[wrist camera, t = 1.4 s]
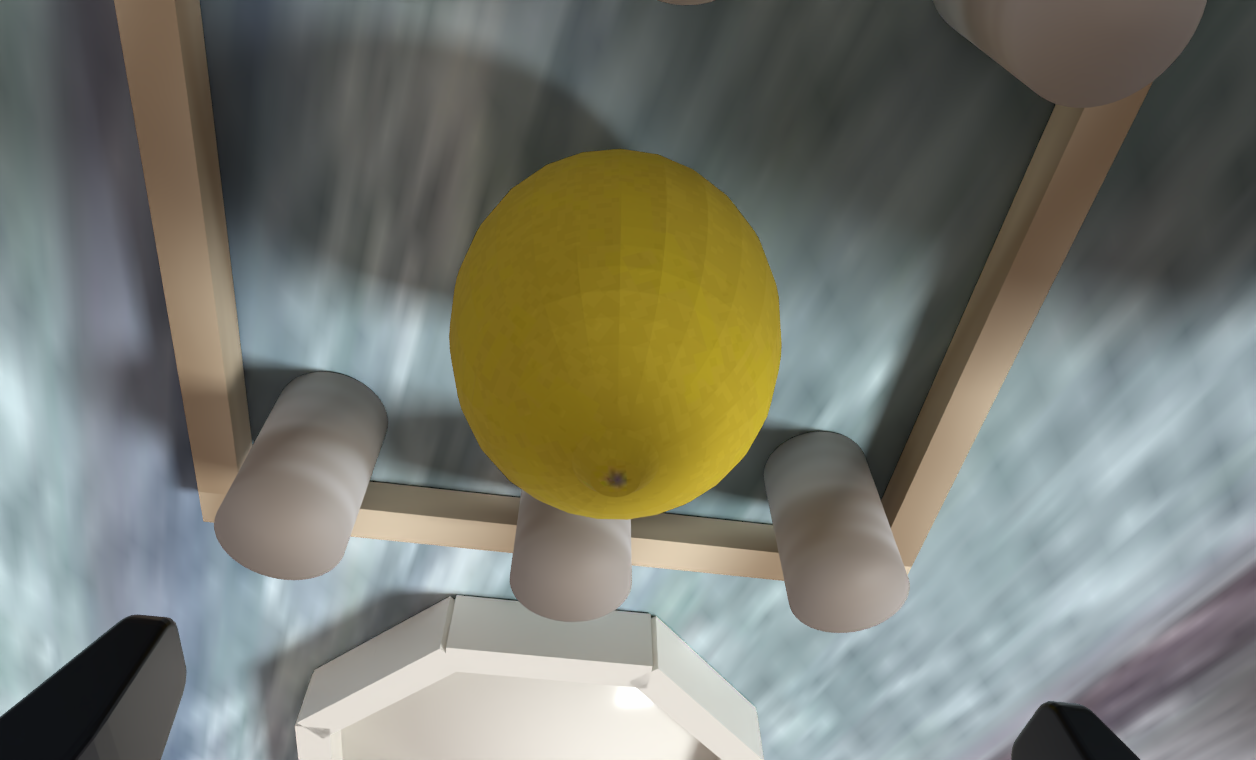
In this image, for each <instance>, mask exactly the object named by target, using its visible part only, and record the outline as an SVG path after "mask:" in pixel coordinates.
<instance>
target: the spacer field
mask: <svg viewBox="0 0 1256 760" xmlns="http://www.w3.org/2000/svg"><path fill="white" fill-rule="evenodd" d="M658 1H661V2H665V3H669V4H676V5H698V4H703V3H709V2H712V1H715V0H658ZM933 2H934V5H935V7H936V9H937V11H938V12H939V14H940V16H941V17H942V18H943V19H944V20H945V22H946V23H947V24H949V25H950V26H951V27H952V28H953V29H955V30H956V31H957V32H958V33H960V34H961V35H962V36H964V37H965V38H966V39H967V40H969V41H970V42H971V43H973V44H974V45H975V46H976V47H978V48H979V49H980V50H982V51H983V52H984V53H985V54H987V55H988V56H989V57H990V58H992V59H993V60H994V61H996V62H997V63H998V64H999V65H1001V66H1002V67H1003V68H1005V69H1006V70H1007V71H1008V72H1010V73H1011V74H1012V75H1014V76H1015V77H1016V78H1017V79H1019V80H1020V81H1021V82H1023V83H1024V84H1025V85H1026V86H1028V87H1029V88H1030V89H1031V90H1033V91H1034V92H1035V93H1037V94H1038V95H1039V96H1041V97H1043V98H1044V99H1046V100H1047V101H1050V102H1052V103H1055V104H1056V105H1055V107H1054V109H1053V112H1052V114H1051V116H1050V119H1049V121H1048V123H1047V125H1046V128H1045V130H1044V132H1043V134H1042V137H1041V139H1040V141H1039V143H1038V146H1037V148H1036V150H1035V153H1034V155H1033V157H1032V159H1031V162H1030V164H1029V166H1028V168H1027V171H1026V173H1025V175H1024V177H1023V180H1022V182H1021V184H1020V187H1019V189H1018V191H1017V193H1016V196H1015V198H1014V200H1013V202H1012V205H1011V207H1010V209H1009V212H1008V214H1007V216H1006V218H1005V221H1004V223H1003V225H1002V227H1001V230H1000V232H999V234H998V236H997V239H996V241H995V243H994V246H993V248H992V250H991V252H990V255H989V257H988V259H987V261H986V264H985V266H984V268H983V271H982V273H981V275H980V277H979V280H978V282H977V284H976V286H975V289H974V291H973V293H972V295H971V298H970V300H969V302H968V305H967V307H966V309H965V311H964V314H963V316H962V318H961V320H960V323H959V325H958V327H957V330H956V332H955V334H954V336H953V339H952V341H951V343H950V345H949V348H948V350H947V352H946V354H945V357H944V359H943V361H942V364H941V366H940V368H939V370H938V373H937V375H936V377H935V379H934V382H933V384H932V386H931V389H930V391H929V393H928V395H927V398H926V400H925V402H924V404H923V407H922V409H921V411H920V413H919V416H918V418H917V420H916V423H915V425H914V427H913V429H912V432H911V434H910V436H909V438H908V441H907V443H906V445H905V447H904V450H903V452H902V454H901V457H900V459H899V461H898V463H897V466H896V468H895V470H894V472H893V475H892V477H891V479H890V482H889V484H888V486H887V488H886V491H885V493H884V495H883V497H882V500H880V497H879V494H878V492H877V489H876V486H875V483H874V480H873V478H872V475H871V472H870V469H869V466H868V464H867V461H866V458H865V456H864V453H863V451H862V450H861V448H860V447H859V446H858V445H857V444H856V443H855V442H854V441H853V440H851V439H849V438H848V437H845V436H843V435H840V434H837V433H832V432H811V433H806V434H802V435H799V436H796V437H794V438H792V439H789V440H788V441H786V442H784V443H783V444H782V445H780V446H779V447H778V448H777V449H776V450H775V451H774V452H773V453H772V454H771V455H770V457H769V459H768V460H767V462H766V465H765V468H764V483H765V488H766V493H767V498H768V503H769V508H770V513H771V517H772V522H773V525H767V524H757V523H748V522H739V521H730V520H720V519H711V518H702V517H693V516H684V515H674V514H665V513H660V514H657V515H652V516H646V517H640V518H634V519H628V520H622V519H595V518H590V517H585V516H580V515H575V514H570V513H567V512H565V511H562V510H560V509H558V508H555V507H553V506H551V505H548V504H546V503H543V502H541V501H539V500H537V499H535V498H534V497H532V496H531V495H529V494H528V493H526V492H525V491H524V490H521V497H520V498H517V497H508V496H499V495H490V494H481V493H471V492H462V491H453V490H444V489H434V488H425V487H416V486H407V485H398V484H388V483H379V482H370V478H371V475H372V472H373V469H374V467H375V464H376V461H377V458H378V455H379V452H380V449H381V447H382V444H383V441H384V438H385V435H386V432H387V428H388V417H387V413H386V410H385V407H384V405H383V404H382V402H381V400H380V399H379V398H378V396H377V395H376V394H375V393H374V392H373V391H372V390H371V389H369V388H368V387H367V386H366V385H364V384H362V383H361V382H359V381H357V380H355V379H353V378H351V377H348V376H345V375H342V374H338V373H332V372H314V373H308V374H305V375H302V376H299V377H297V378H295V379H294V380H292V381H291V382H290V383H288V384H287V385H286V387H285V388H284V389H283V391H282V392H281V394H280V396H279V398H278V400H277V401H276V403H275V405H274V407H273V409H272V411H271V413H270V414H269V416H268V418H267V420H266V422H265V424H264V426H263V427H262V429H261V431H260V433H259V435H258V437H257V439H256V440H255V442H254V444H253V446H252V437H251V429H250V421H249V412H248V404H247V395H246V387H245V379H244V370H243V362H242V353H241V345H240V337H239V328H238V320H237V311H236V303H235V294H234V286H233V278H232V269H231V261H230V252H229V244H228V236H227V227H226V219H225V210H224V202H223V194H222V185H221V177H220V168H219V160H218V152H217V143H216V135H215V126H214V118H213V110H212V101H211V93H210V84H209V76H208V68H207V59H206V51H205V42H204V34H203V26H202V17H201V9H200V0H114V4H115V10H116V16H117V21H118V27H119V33H120V39H121V45H122V50H123V56H124V62H125V68H126V74H127V79H128V85H129V91H130V97H131V103H132V109H133V114H134V120H135V126H136V132H137V138H138V143H139V149H140V155H141V161H142V167H143V172H144V178H145V184H146V190H147V196H148V201H149V207H150V213H151V219H152V225H153V231H154V236H155V242H156V248H157V254H158V260H159V265H160V271H161V277H162V283H163V289H164V294H165V300H166V306H167V312H168V318H169V324H170V329H171V335H172V341H173V347H174V353H175V358H176V364H177V370H178V376H179V382H180V387H181V393H182V399H183V405H184V411H185V416H186V422H187V428H188V434H189V440H190V446H191V451H192V457H193V463H194V469H195V475H196V480H197V486H198V492H199V498H200V504H201V509H202V515H203V521H204V522H214V530H215V534H216V537H217V539H218V541H219V543H220V545H221V546H222V548H223V549H224V550H225V551H226V552H227V554H229V555H230V556H231V557H232V558H233V559H234V560H235V561H237V562H238V563H239V564H241V565H243V566H244V567H246V568H248V569H250V570H252V571H254V572H257V573H259V574H262V575H265V576H268V577H273V578H277V579H284V580H303V579H310V578H314V577H318V576H320V575H323V574H325V573H327V572H329V571H330V570H332V569H333V568H334V567H335V566H336V565H337V564H338V563H339V562H340V561H341V559H342V557H343V555H344V553H345V550H346V547H347V544H348V541H349V538H350V536H351V537H361V538H371V539H380V540H390V541H400V542H410V543H419V544H429V545H439V546H449V547H459V548H468V549H478V550H488V551H498V552H508V553H513V557H512V565H511V572H510V585H511V589H512V591H513V593H514V595H515V597H516V598H517V600H518V601H519V602H520V603H521V604H522V605H523V606H524V607H526V608H527V609H528V610H530V611H532V612H533V613H535V614H537V615H540V616H542V617H545V618H548V619H552V620H556V621H563V622H582V621H589V620H593V619H597V618H600V617H603V616H605V615H607V614H609V613H611V612H613V611H614V610H616V609H617V608H618V607H619V606H620V605H621V604H623V602H624V601H625V600H626V599H627V597H628V595H629V593H630V590H631V585H632V565H635V566H645V567H654V568H664V569H674V570H684V571H694V572H703V573H713V574H723V575H733V576H743V577H752V578H762V579H772V580H782V581H785V586H786V591H787V596H788V601H789V605H790V608H791V610H792V612H793V614H794V615H795V616H796V618H798V619H799V620H800V621H801V622H802V623H804V624H805V625H807V626H809V627H811V628H814V629H817V630H821V631H825V632H832V633H847V632H855V631H860V630H864V629H867V628H870V627H873V626H876V625H878V624H880V623H882V622H884V621H885V620H887V619H889V618H890V617H891V616H893V615H894V614H895V613H896V612H897V611H898V610H899V609H900V608H901V607H902V606H903V604H904V603H905V601H906V599H907V597H908V594H909V589H910V583H909V578H908V576H907V575H908V573H909V571H910V569H911V567H912V565H913V563H914V561H915V559H916V557H917V555H918V553H919V551H920V549H921V547H922V545H923V543H924V541H925V539H926V537H927V535H928V533H929V531H930V529H931V527H932V525H933V523H934V521H935V519H936V517H937V515H938V513H939V511H940V509H941V507H942V505H943V503H944V501H945V499H946V497H947V495H948V493H949V491H950V489H951V487H952V485H953V483H954V480H955V478H956V476H957V474H958V472H959V470H960V468H961V466H962V464H963V462H964V460H965V458H966V456H967V454H968V452H969V450H970V448H971V446H972V444H973V442H974V440H975V438H976V436H977V434H978V432H979V430H980V428H981V426H982V424H983V422H984V420H985V418H986V416H987V414H988V412H989V410H990V408H991V406H992V404H993V402H994V400H995V398H996V396H997V394H998V392H999V390H1000V388H1001V386H1002V384H1003V382H1004V380H1005V378H1006V376H1007V374H1008V372H1009V370H1010V368H1011V366H1012V364H1013V362H1014V360H1015V358H1016V356H1017V354H1018V352H1019V350H1020V348H1021V346H1022V344H1023V342H1024V340H1025V338H1026V336H1027V334H1028V332H1029V330H1030V328H1031V326H1032V324H1033V322H1034V320H1035V318H1036V316H1037V314H1038V312H1039V310H1040V308H1041V306H1042V304H1043V302H1044V300H1045V298H1046V296H1047V294H1048V292H1049V290H1050V288H1051V286H1052V284H1053V282H1054V280H1055V278H1056V276H1057V274H1058V272H1059V270H1060V268H1061V266H1062V264H1063V262H1064V260H1065V258H1066V255H1067V253H1068V251H1069V249H1070V247H1071V245H1072V243H1073V241H1074V239H1075V237H1076V235H1077V233H1078V231H1079V229H1080V227H1081V225H1082V223H1083V221H1084V219H1085V217H1086V215H1087V213H1088V211H1089V209H1090V207H1091V205H1092V203H1093V201H1094V199H1095V197H1096V195H1097V193H1098V191H1099V189H1100V187H1101V185H1102V183H1103V181H1104V179H1105V177H1106V175H1107V173H1108V171H1109V169H1110V167H1111V165H1112V163H1113V161H1114V159H1115V157H1116V155H1117V153H1118V151H1119V149H1120V147H1121V145H1122V143H1123V141H1124V139H1125V137H1126V135H1127V133H1128V131H1129V129H1130V127H1131V125H1132V123H1133V121H1134V119H1135V117H1136V115H1137V113H1138V111H1139V109H1140V107H1141V105H1142V103H1143V101H1144V99H1145V97H1146V95H1147V93H1148V91H1149V89H1150V87H1151V85H1152V83H1153V81H1154V80H1155V79H1156V78H1157V77H1159V76H1160V75H1161V74H1162V73H1163V72H1164V71H1165V70H1166V69H1167V68H1168V67H1169V66H1170V65H1171V64H1172V63H1173V62H1174V61H1175V60H1176V59H1177V57H1178V56H1179V55H1180V54H1181V53H1182V51H1183V50H1184V48H1185V47H1186V46H1187V44H1188V43H1189V41H1190V40H1191V38H1192V36H1193V34H1194V33H1195V31H1196V29H1197V27H1198V25H1199V22H1200V20H1201V18H1202V15H1203V12H1204V9H1205V6H1206V3H1207V0H933Z"/></svg>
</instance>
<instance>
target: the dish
mask: <svg viewBox="0 0 1256 760" xmlns="http://www.w3.org/2000/svg"><path fill="white" fill-rule="evenodd" d="M295 732H296V742H297V751H298V760H764V757H763V750H762V743H761V736H760V729H759V723H758V716H757V712H756V708H755V707H754V706H753V705H752V704H751V703H750V702H749V701H748V700H747V699H745V698H744V697H743V696H742V695H741V694H740V693H739V692H738V691H737V690H736V689H735V688H734V687H732V686H731V685H730V684H729V683H728V682H727V681H726V680H725V679H724V678H723V677H722V676H721V675H719V674H718V673H717V672H716V671H715V670H714V669H713V668H712V667H711V666H710V665H709V664H707V663H706V662H705V661H704V660H703V659H702V658H701V657H700V656H699V655H698V654H697V653H696V652H694V651H693V650H692V649H691V648H690V647H689V646H688V645H687V644H686V643H685V642H684V641H683V640H681V639H680V638H679V637H678V636H677V635H676V634H675V633H674V632H673V631H672V630H671V629H670V628H668V627H667V626H666V625H665V624H664V623H663V622H662V621H661V620H660V619H659V618H658V617H657V616H655V617H653V618H651V614H647V613H636V612H626V611H616V610H614V611H613V612H611V613H609V614H607V615H605V616H603V617H600V618H597V619H593V620H589V621H582V622H563V621H556V620H552V619H548V618H545V617H542V616H540V615H537V614H535V613H533V612H532V611H530V610H528V609H527V608H526V607H524V606H523V605H522V604H521V603H520V602H519V601H512V600H502V599H492V598H481V597H471V596H461V595H456V599H453V598H452V597H451V596H450V597H448V598H446V599H444V600H442V601H440V602H439V603H437V604H435V605H433V606H431V607H429V608H428V609H426V610H424V611H422V612H420V613H418V614H416V615H415V616H413V617H411V618H409V619H407V620H405V621H404V622H402V623H400V624H398V625H396V626H394V627H393V628H391V629H389V630H387V631H385V632H383V633H381V634H380V635H378V636H376V637H374V638H372V639H370V640H369V641H367V642H365V643H363V644H361V645H359V646H358V647H356V648H354V649H352V650H350V651H348V652H347V653H345V654H343V655H341V656H339V657H337V658H335V659H334V660H332V661H330V662H328V663H326V664H324V665H323V666H321V667H319V668H317V669H315V670H314V673H312V676H311V679H310V682H309V685H308V688H307V691H306V694H305V697H304V700H303V703H302V706H301V709H300V712H299V715H298V718H297V721H296V724H295Z"/></svg>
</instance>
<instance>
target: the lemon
mask: <svg viewBox="0 0 1256 760" xmlns="http://www.w3.org/2000/svg"><path fill="white" fill-rule="evenodd" d="M449 340H450V353H451V360H452V366H453V371H454V377H455V383H456V388H457V394H458V398H459V402H460V406H461V409H462V411H463V413H464V415H465V417H466V419H467V421H468V424H469V426H470V428H471V430H472V432H473V434H474V436H475V438H476V440H477V442H478V444H479V446H480V448H481V449H482V451H483V452H484V453H485V454H486V455H487V456H488V457H489V458H490V460H491V461H492V462H493V463H494V464H495V465H496V466H497V467H498V469H499V470H500V471H501V472H502V473H503V474H504V475H505V476H506V477H507V479H508V480H509V481H511V482H512V483H513V484H515V485H516V486H518V487H519V488H521V489H522V490H524V491H525V492H526V493H528V494H529V495H531V496H532V497H534V498H535V499H537V500H539V501H541V502H543V503H546V504H548V505H551V506H553V507H555V508H558V509H560V510H562V511H565V512H567V513H570V514H575V515H580V516H585V517H590V518H595V519H622V520H628V519H634V518H640V517H646V516H652V515H657V514H660V513H663V512H666V511H668V510H671V509H674V508H676V507H679V506H682V505H684V504H686V503H688V502H690V501H692V500H694V499H695V498H697V497H698V496H700V495H701V494H703V493H705V492H706V491H708V490H709V489H711V488H713V487H714V486H716V485H717V484H718V483H719V482H720V481H721V480H722V479H723V478H724V477H725V476H726V475H727V474H728V473H729V472H730V471H731V470H732V469H733V468H734V467H735V466H736V465H737V464H738V463H739V462H740V461H741V460H742V458H743V457H744V456H745V455H746V454H747V452H748V450H749V448H750V447H751V445H752V443H753V441H754V440H755V438H756V436H757V435H758V433H759V431H760V429H761V428H762V426H763V423H764V421H765V419H766V417H767V415H768V412H769V408H770V405H771V401H772V396H773V392H774V388H775V384H776V379H777V375H778V371H779V365H780V359H781V329H780V312H779V296H778V291H777V286H776V283H775V280H774V277H773V275H772V272H771V269H770V267H769V264H768V261H767V259H766V256H765V253H764V250H763V248H762V245H761V242H760V240H759V238H758V236H757V235H756V233H755V231H754V230H753V229H752V227H751V226H750V225H749V223H748V222H747V221H746V219H745V218H744V217H743V215H742V214H741V213H740V211H739V210H738V209H737V207H736V206H735V205H734V204H733V202H732V201H731V200H730V199H729V197H728V196H727V195H726V194H724V193H723V192H722V191H720V190H719V189H718V188H717V187H715V186H714V185H713V184H711V183H710V182H709V181H708V180H706V179H705V178H704V177H702V176H701V175H700V174H698V173H697V172H696V171H694V170H693V169H691V168H689V167H686V166H684V165H682V164H679V163H677V162H675V161H672V160H670V159H668V158H665V157H663V156H661V155H658V154H652V153H645V152H639V151H632V150H625V149H612V150H601V151H590V152H582V153H579V154H576V155H573V156H570V157H567V158H564V159H562V160H559V161H556V162H553V163H550V164H547V165H546V166H544V167H543V168H541V169H540V170H538V171H537V172H535V173H534V174H532V175H531V176H529V177H528V178H527V179H525V180H524V181H522V182H521V183H519V184H518V185H516V186H515V187H513V188H512V189H511V190H510V191H509V192H508V193H507V194H506V196H505V197H504V198H503V199H502V200H501V201H500V203H499V204H498V205H497V206H496V207H495V208H494V210H493V211H492V212H491V213H490V214H489V215H488V217H487V218H486V219H485V220H484V221H483V223H482V224H481V225H480V227H479V229H478V230H477V232H476V234H475V236H474V239H473V241H472V243H471V245H470V247H469V250H468V252H467V254H466V256H465V258H464V261H463V263H462V265H461V267H460V270H459V273H458V275H457V279H456V284H455V289H454V297H453V305H452V313H451V321H450V333H449Z"/></svg>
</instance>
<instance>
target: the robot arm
mask: <svg viewBox="0 0 1256 760" xmlns="http://www.w3.org/2000/svg"><path fill="white" fill-rule="evenodd" d="M185 682H186V665H185V660H184V656H183V651H182V647H181V642H180V638H179V633H178V629H177V626H176V623H175V622H174V621H173V620H172V619H171V618H167V617H157V616H147V615H131V616H128V617H126V618H124V619H122V620H121V621H119V622H118V623H117V624H115V625H114V626H113V627H112V628H110V629H109V630H108V631H107V632H106V633H104V634H103V635H102V636H101V637H99V638H98V639H97V640H96V641H94V642H93V643H92V644H91V645H89V646H88V647H87V648H86V649H84V650H83V651H82V652H81V653H79V654H78V655H77V656H76V657H74V658H73V659H72V660H71V661H69V662H68V663H67V664H66V665H64V666H63V667H62V668H61V669H59V670H58V671H57V672H56V673H54V674H53V675H52V676H51V677H49V678H48V679H47V680H46V681H44V682H43V683H42V684H41V685H40V686H38V687H37V688H36V689H35V690H33V691H32V692H31V693H30V694H28V695H27V696H26V697H25V698H23V699H22V700H21V701H20V702H18V703H17V704H16V705H15V706H13V707H12V708H11V709H10V710H8V711H7V712H6V713H5V714H3V715H2V716H1V717H0V760H161V757H162V754H163V751H164V748H165V745H166V742H167V739H168V736H169V733H170V730H171V727H172V725H173V722H174V719H175V716H176V713H177V710H178V707H179V704H180V701H181V698H182V695H183V691H184V687H185ZM1011 760H1140V759H1139V758H1138V757H1137V756H1136V755H1135V754H1134V753H1133V752H1132V751H1131V750H1130V749H1129V748H1128V747H1127V746H1126V745H1125V744H1124V743H1123V742H1122V741H1121V740H1120V739H1119V738H1118V737H1117V736H1116V735H1115V734H1114V733H1113V732H1112V731H1111V730H1110V729H1109V728H1108V727H1107V726H1106V725H1105V724H1104V723H1103V722H1102V721H1101V720H1100V719H1099V718H1098V717H1097V716H1096V715H1095V714H1094V713H1093V712H1092V711H1091V710H1090V709H1088V708H1087V707H1085V706H1083V705H1080V704H1076V703H1065V702H1054V701H1048V702H1046V703H1043V704H1042V705H1041V706H1040V707H1039V708H1038V709H1037V711H1036V712H1035V714H1034V715H1033V716H1032V718H1031V719H1030V721H1029V722H1028V723H1027V725H1026V726H1025V728H1024V729H1023V730H1022V732H1021V733H1020V734H1019V736H1018V737H1017V739H1016V740H1015V742H1014V745H1013V748H1012V754H1011Z"/></svg>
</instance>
